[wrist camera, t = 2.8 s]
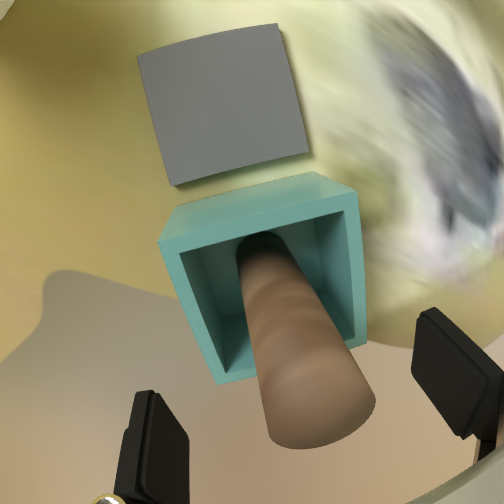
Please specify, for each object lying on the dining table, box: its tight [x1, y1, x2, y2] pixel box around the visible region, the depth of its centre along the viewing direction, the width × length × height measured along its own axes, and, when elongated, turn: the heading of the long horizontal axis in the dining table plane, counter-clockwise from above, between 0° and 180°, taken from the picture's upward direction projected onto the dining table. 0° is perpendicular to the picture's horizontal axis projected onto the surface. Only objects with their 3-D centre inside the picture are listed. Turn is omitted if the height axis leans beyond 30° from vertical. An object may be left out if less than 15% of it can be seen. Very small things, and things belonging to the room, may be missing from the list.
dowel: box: [236, 231, 376, 449], centre depth 13 cm, size 3×3×12 cm
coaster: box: [137, 23, 309, 186], centre depth 15 cm, size 8×8×1 cm
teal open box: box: [157, 172, 367, 385], centre depth 16 cm, size 8×8×6 cm
